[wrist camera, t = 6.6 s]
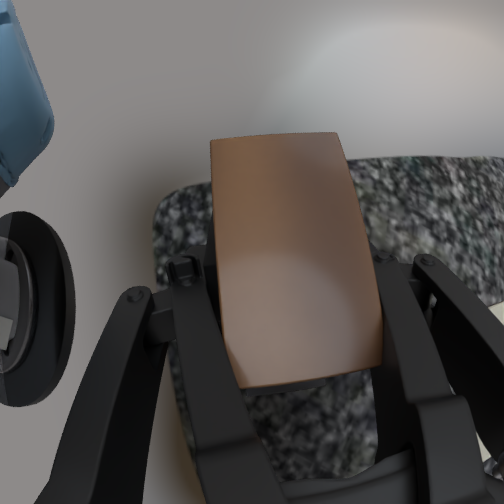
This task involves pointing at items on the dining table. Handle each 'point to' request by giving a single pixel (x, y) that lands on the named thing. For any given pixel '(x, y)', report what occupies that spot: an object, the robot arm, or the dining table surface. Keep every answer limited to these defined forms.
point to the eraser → (292, 262)
